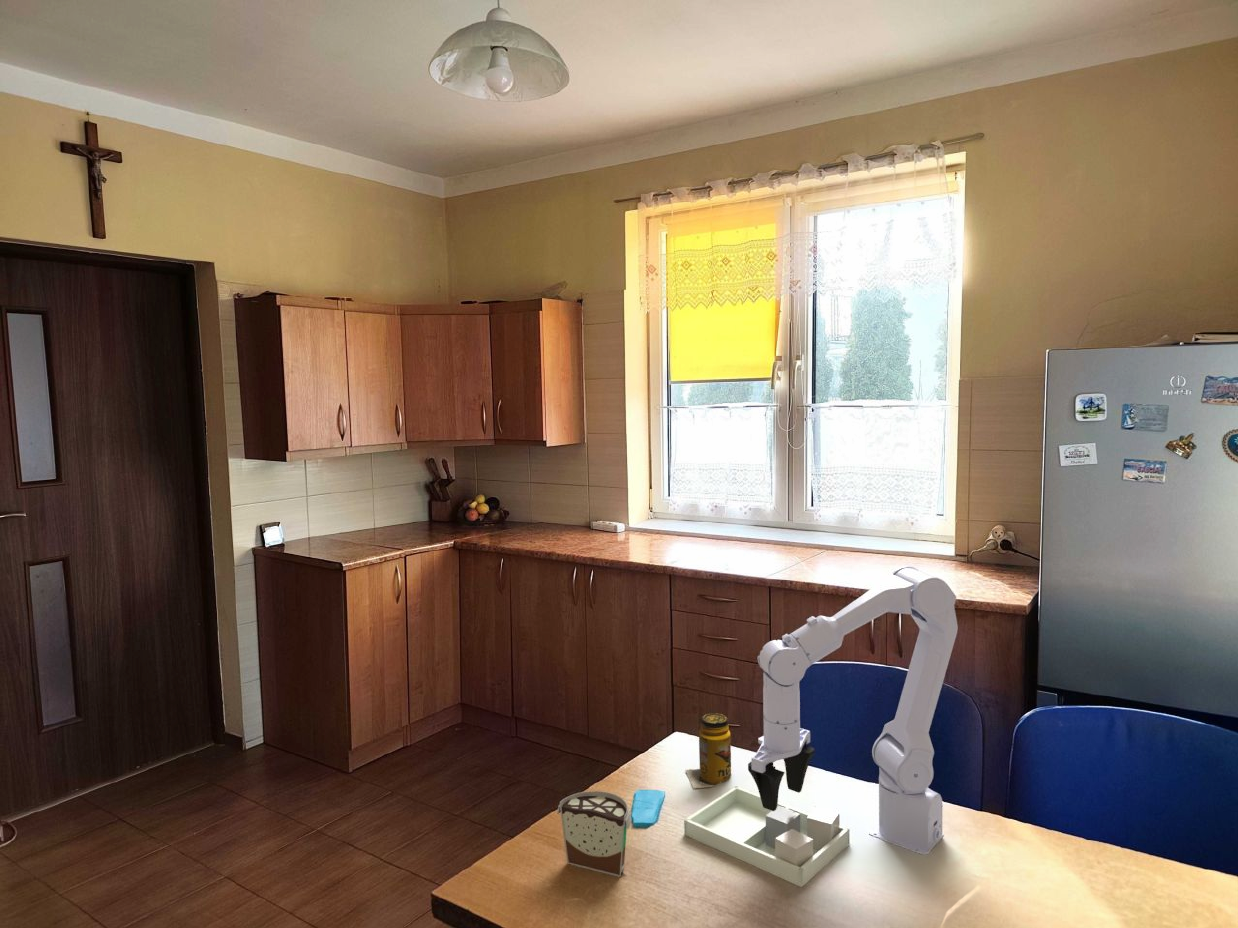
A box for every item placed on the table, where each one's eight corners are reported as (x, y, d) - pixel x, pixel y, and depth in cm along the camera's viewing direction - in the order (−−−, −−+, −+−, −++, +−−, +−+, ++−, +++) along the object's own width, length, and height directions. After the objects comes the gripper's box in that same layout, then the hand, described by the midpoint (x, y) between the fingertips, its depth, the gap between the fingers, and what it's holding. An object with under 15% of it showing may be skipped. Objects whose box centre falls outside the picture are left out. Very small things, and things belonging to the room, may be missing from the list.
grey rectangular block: (800, 843, 128) (800, 813, 128) (787, 854, 126) (787, 823, 125) (779, 834, 131) (778, 805, 131) (765, 844, 128) (765, 815, 128)
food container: (645, 857, 127) (643, 797, 126) (629, 879, 121) (627, 816, 120) (577, 841, 132) (575, 783, 131) (559, 861, 126) (556, 801, 125)
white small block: (839, 842, 128) (839, 812, 128) (831, 854, 125) (831, 823, 125) (815, 835, 131) (815, 806, 130) (807, 847, 127) (806, 817, 127)
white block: (813, 870, 121) (812, 839, 121) (796, 881, 119) (796, 849, 118) (792, 859, 124) (791, 828, 124) (775, 869, 122) (775, 837, 121)
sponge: (621, 822, 136) (654, 821, 135) (635, 788, 148) (665, 787, 147) (622, 830, 136) (655, 829, 135) (636, 796, 148) (666, 795, 147)
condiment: (737, 785, 149) (736, 723, 148) (693, 789, 148) (692, 727, 147) (727, 767, 157) (726, 708, 156) (685, 771, 156) (683, 712, 155)
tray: (849, 846, 128) (849, 828, 128) (801, 889, 117) (801, 870, 117) (736, 802, 143) (736, 786, 143) (684, 837, 132) (684, 819, 132)
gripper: (783, 697, 135) (784, 775, 136) (734, 724, 124) (735, 808, 125) (821, 708, 130) (821, 788, 131) (773, 737, 119) (774, 823, 120)
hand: (782, 798), depth 128 cm, fingers open, 7 cm apart
